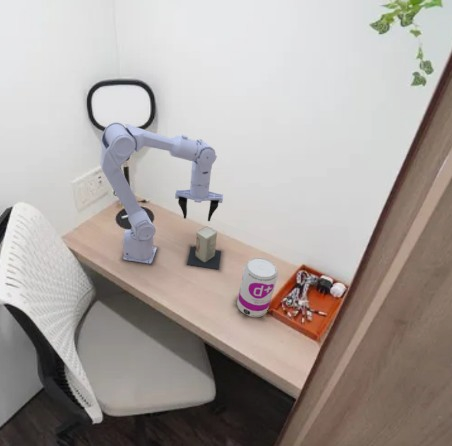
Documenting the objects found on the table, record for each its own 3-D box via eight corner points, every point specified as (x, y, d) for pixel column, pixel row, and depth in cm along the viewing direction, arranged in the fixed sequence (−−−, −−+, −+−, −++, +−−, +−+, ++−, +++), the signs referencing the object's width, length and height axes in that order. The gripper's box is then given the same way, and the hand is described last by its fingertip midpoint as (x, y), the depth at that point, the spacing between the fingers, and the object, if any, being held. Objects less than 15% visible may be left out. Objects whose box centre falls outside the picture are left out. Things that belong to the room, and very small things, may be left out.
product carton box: (204, 249, 112) (207, 225, 106) (215, 256, 109) (218, 231, 103) (194, 256, 109) (196, 231, 103) (204, 263, 107) (206, 238, 101)
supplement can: (268, 320, 89) (281, 280, 80) (236, 316, 90) (245, 276, 81) (266, 297, 95) (277, 258, 86) (236, 293, 96) (244, 254, 88)
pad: (186, 264, 107) (186, 264, 106) (190, 246, 114) (191, 246, 114) (218, 269, 104) (218, 269, 104) (220, 251, 111) (221, 250, 111)
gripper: (174, 185, 100) (173, 222, 108) (224, 190, 97) (219, 227, 105) (177, 174, 105) (176, 210, 113) (225, 178, 102) (220, 215, 110)
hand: (197, 218), depth 109 cm, fingers open, 7 cm apart
